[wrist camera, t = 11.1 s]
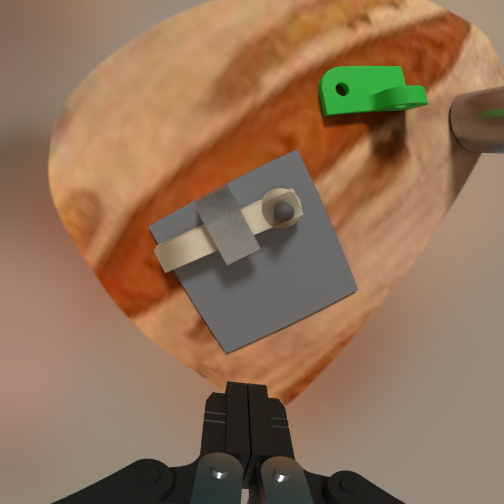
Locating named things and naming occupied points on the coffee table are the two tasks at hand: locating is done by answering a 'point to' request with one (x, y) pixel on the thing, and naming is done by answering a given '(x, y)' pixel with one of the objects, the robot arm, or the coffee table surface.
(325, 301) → the base plate
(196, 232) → the latch bar
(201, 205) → the keeper
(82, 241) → the coffee table surface
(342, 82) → the mechanical part
